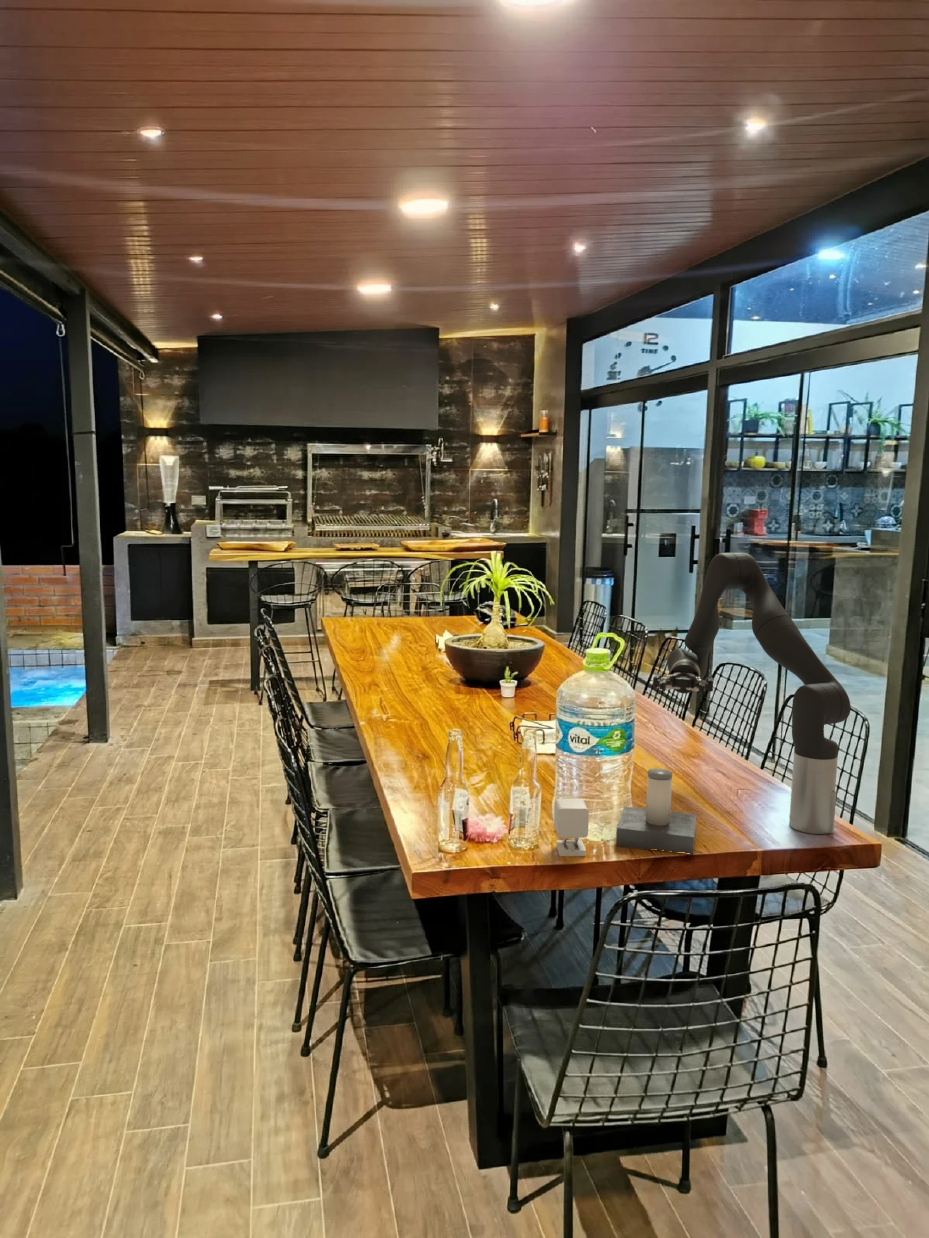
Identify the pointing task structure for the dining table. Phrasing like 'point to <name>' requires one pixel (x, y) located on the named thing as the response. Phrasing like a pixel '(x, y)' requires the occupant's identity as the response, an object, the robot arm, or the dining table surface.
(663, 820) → the canister
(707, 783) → the dining table surface
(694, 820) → the block
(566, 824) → the security camera
